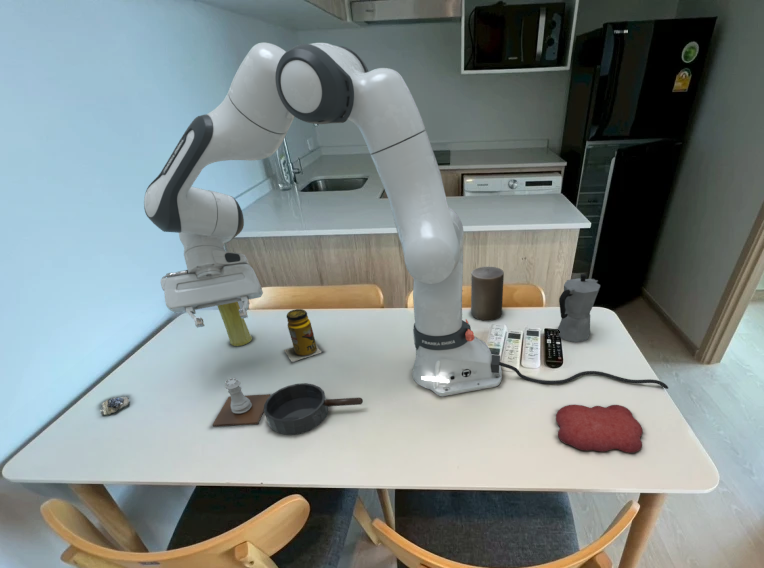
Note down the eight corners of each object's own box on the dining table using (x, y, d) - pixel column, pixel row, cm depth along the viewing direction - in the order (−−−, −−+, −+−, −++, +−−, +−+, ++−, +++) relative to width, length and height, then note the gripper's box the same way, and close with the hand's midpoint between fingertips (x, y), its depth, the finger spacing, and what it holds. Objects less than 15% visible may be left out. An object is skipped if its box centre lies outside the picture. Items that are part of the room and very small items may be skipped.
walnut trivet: (270, 396, 100) (270, 394, 100) (258, 424, 92) (257, 422, 91) (229, 398, 100) (228, 396, 99) (213, 426, 92) (212, 424, 91)
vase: (225, 345, 120) (208, 300, 112) (238, 334, 125) (222, 291, 117) (244, 347, 119) (227, 302, 110) (256, 336, 124) (241, 292, 115)
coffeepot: (573, 320, 124) (583, 263, 114) (601, 332, 118) (614, 272, 108) (540, 338, 117) (547, 278, 106) (567, 352, 111) (578, 289, 100)
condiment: (322, 352, 115) (312, 314, 108) (292, 362, 111) (280, 323, 104) (313, 341, 120) (303, 304, 113) (284, 351, 116) (272, 313, 109)
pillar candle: (505, 319, 127) (508, 272, 118) (474, 322, 126) (475, 275, 117) (497, 305, 134) (499, 260, 126) (467, 308, 134) (468, 263, 125)
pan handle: (363, 401, 93) (362, 395, 92) (363, 405, 92) (362, 400, 91) (324, 403, 93) (323, 398, 92) (323, 408, 92) (322, 402, 91)
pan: (332, 394, 99) (329, 381, 97) (322, 433, 89) (318, 419, 86) (277, 398, 99) (273, 384, 97) (261, 436, 88) (255, 423, 86)
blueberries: (107, 419, 95) (103, 413, 94) (90, 408, 98) (86, 402, 97) (137, 403, 100) (133, 397, 98) (120, 393, 103) (116, 387, 102)
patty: (630, 408, 91) (632, 401, 90) (652, 454, 80) (655, 447, 79) (550, 406, 93) (551, 399, 92) (561, 452, 82) (562, 444, 81)
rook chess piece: (244, 400, 98) (233, 373, 93) (256, 406, 96) (246, 378, 91) (227, 411, 95) (215, 383, 90) (240, 417, 93) (228, 389, 88)
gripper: (153, 268, 90) (167, 327, 88) (251, 252, 96) (266, 307, 94) (164, 280, 96) (177, 336, 94) (256, 265, 102) (270, 316, 100)
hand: (222, 321), depth 94 cm, fingers open, 8 cm apart
